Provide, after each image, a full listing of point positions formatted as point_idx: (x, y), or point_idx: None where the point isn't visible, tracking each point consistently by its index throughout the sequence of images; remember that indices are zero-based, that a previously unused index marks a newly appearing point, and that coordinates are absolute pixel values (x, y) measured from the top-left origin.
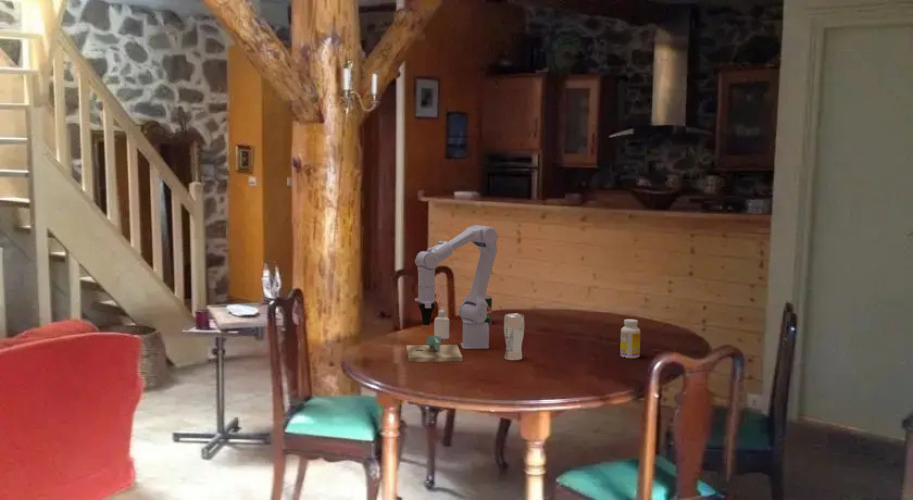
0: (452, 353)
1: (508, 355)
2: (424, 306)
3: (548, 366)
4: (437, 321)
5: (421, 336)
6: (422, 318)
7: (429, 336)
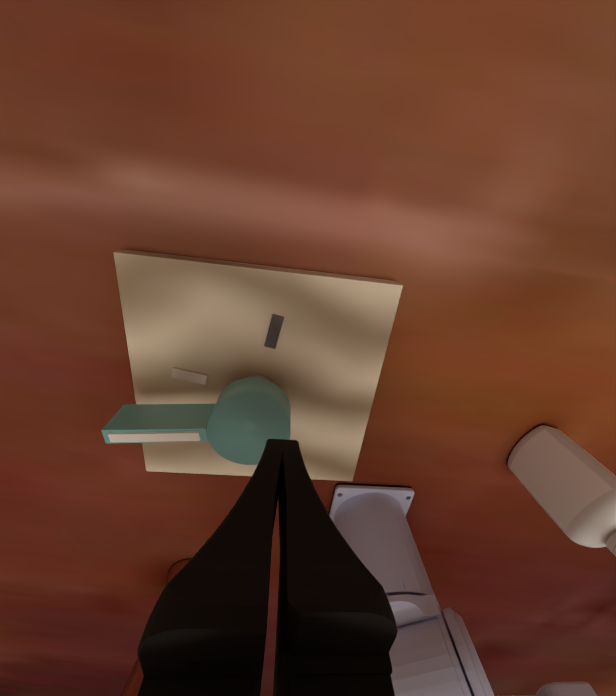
0: (204, 449)
1: (171, 578)
2: (146, 670)
3: (104, 616)
4: (597, 496)
5: (612, 384)
6: (252, 477)
7: (274, 417)
